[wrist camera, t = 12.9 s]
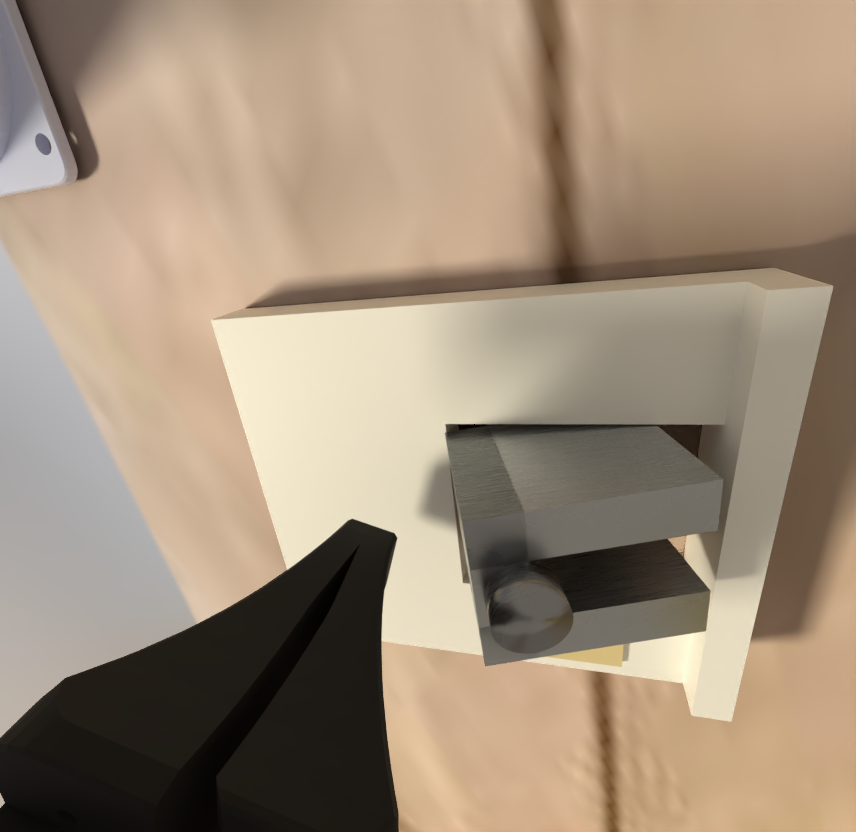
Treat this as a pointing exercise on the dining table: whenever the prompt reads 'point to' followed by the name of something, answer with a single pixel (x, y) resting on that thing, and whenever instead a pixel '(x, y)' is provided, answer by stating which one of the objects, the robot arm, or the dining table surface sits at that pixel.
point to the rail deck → (531, 404)
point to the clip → (579, 535)
